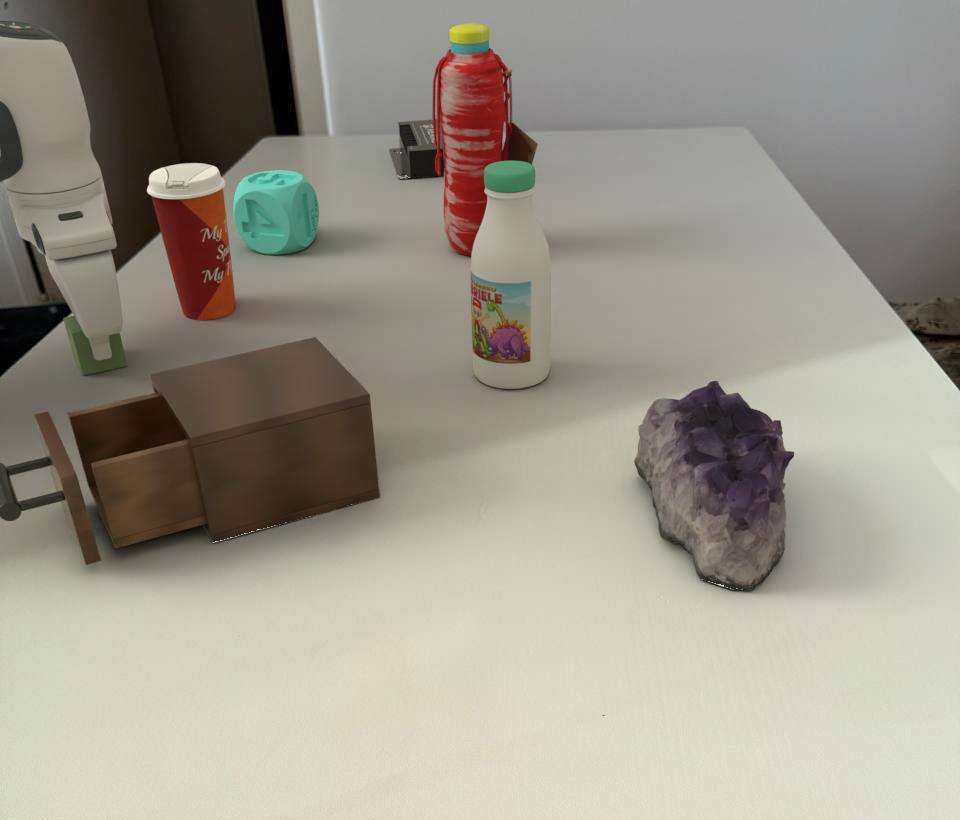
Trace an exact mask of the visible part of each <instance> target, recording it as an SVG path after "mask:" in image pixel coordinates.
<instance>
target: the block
mask: <svg viewBox="0 0 960 820" xmlns="http://www.w3.org/2000/svg"><path fill="white" fill-rule="evenodd" d="M62 320H63V322H64V326H65V330H66V333H67V337H68V341H69V344H70V348H71V352H72V357H73V359H74V361H75V363H76V365H77V367H78V368H79V372H80V373H81V374H82V376H83V377H84V376H89V375H93V374H97V373H102V372H106V371H111V370H116V369H119V368H120V369H121V368H125V367H128V362H127V358H126V353H125V349H124V345H123V340H122V337H121V332H119V333H116V334H112V335H109V343H110V347H111V352H112V356H111V357H110V358H108V359H104V360H96V359H95V358H94V356H93V354H92V352H91V348H90V344H89V339H88V338H87V337H86V336H85V334H84V333H83V331H82V329H81V327H80V325H79V323H78V322H77V320H76V318H75V316H74V315H71V316H66V317H63V319H62Z"/></svg>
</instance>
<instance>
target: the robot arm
mask: <svg viewBox="0 0 960 820" xmlns="http://www.w3.org/2000/svg"><path fill="white" fill-rule="evenodd" d="M72 59H73V58H72V57H71V54H70V52H69V50H68V48H67V46H66V44H64V42H63V41H62V40H61V39H60V38H58V37H57V35H56V34H54V33H53V32H51V31H49V30H48V29H46V28H44V27H43V26H41V25H40V26H39V25H36V24H35V25H34V24H31V23H29V22H23V21H15V20H14V21H13V20H0V183H3V182H4V186H5V190H6V193H7V197H8V200H9V204H10V207H11V211H12V215H13V218H14V221H15V225H16V228H17V232H18V235H19V237H20V238H21V239H22V240H25V241H27V242H30V243H31V244H32V245H33V246H35V248H36V250H37V252H38V253H39V254H41V255H44V257H45V262H46V265H47V268H48V271H49V273H50V276H51V277H52V280H54V282H55V284H56V286H57V288H58V289H59V292H60V293H61V296H63V298H64V300H65V302H66V304H67V306H68V307H69V309H70V311H71V313H72V314H73V315H72V316H75V318H76V320H77V322H78V323H79V325H80V327H81V329H82V331H83V333H84V334H85V336H86V337H87V338H88V339H89V344H90V348H91V352H92V354H93V356H94V358H95V359H96V360H104V359H108V358H110V357H111V356H112V352H111V347H110V343H109V335H112V334H116V333H119V332H120V333H121V332H122V330H123V324H124V321H123V319H124V318H123V308H122V302H121V296H120V289H119V283H118V277H117V271H116V265H115V259H114V256H113V252H112V250H114V249H116V248H117V246H118V244H117V239H116V235H115V231H114V227H113V216H112V213H111V208H110V204H109V199H108V195H107V191H106V186H105V181H104V178H103V174H102V170H101V166H100V164H99V162H98V161H97V159H96V157H95V155H94V152H93V150H92V144H91V130H92V129H91V128H92V127H91V121H90V117H89V112H88V109H87V105H86V101H85V96H84V94H83V89H82V86H81V82H80V79H79V76H78V73H77V70H76V67H75V65H74V62H73V60H72Z"/></svg>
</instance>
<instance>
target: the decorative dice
mask: <svg viewBox="0 0 960 820" xmlns="http://www.w3.org/2000/svg"><path fill="white" fill-rule="evenodd" d="M317 196H318V195H317V193H316V191H315V189H314V187H313V186H312V184H311V182H310V181H309V180H308V179H307V178H306V177H305V176H303V174H301V173H300V172H297V171H293V170H286V169H285V170H283V169H274V170H265V171H258V172H255V173H254V172H253V173H251V174H249V175H246V176H245V177H243V178H242V179H241V181H240V182H239V184H238V185H237V187H236V189H235V193H234V196H233V205H232V212H233V221H234V225H235V229H236V231H237V234H238V235H239V238H241V240H242V241H243V242H244V244H245V245H246V246H248V247H249V248H250V249H251V250H252V251H254V252H256V253H258V254H262V255H270V256H277V255H288V254H293V253H297V252H301V251H304V250H306V249H307V248H308V247H309V246H310V245H311V244H312V243H313V241H314V239H315V237H316V234H317V232H318V227H319V220H320V207H319V206H320V205H319V199H318V197H317Z"/></svg>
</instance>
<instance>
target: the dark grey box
mask: <svg viewBox="0 0 960 820" xmlns="http://www.w3.org/2000/svg"><path fill="white" fill-rule="evenodd" d="M435 120H436V136H437V118H435ZM398 136H399V147H395V148H389V149H388V151H389V154H390V158H391V161H392V164H393V163H394V164H393V167H394V170H395V173H396V176H397V175H399V176H403V177H405V175H407V176H408V177H410V178H416V179H424V178H423V177H429V178H438V177H437V176H442V177H444V154H443V141H442V134H441V126H440V151H441V152H442V156H441V157H440V167H441V175H438V173H436V169H435V157H436V154H437V148H436V146H435V143H434V130H433V119H421V120H409V121H408V120H407V121H398ZM396 151H397V152H398V153H397V152H396ZM400 152H402V153H401V154H400ZM402 174H404V175H402ZM408 177H406V178H408Z"/></svg>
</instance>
